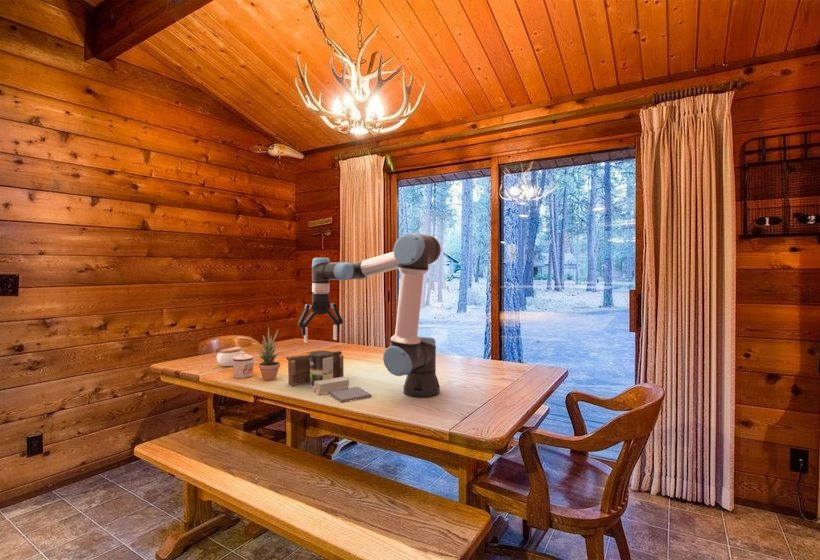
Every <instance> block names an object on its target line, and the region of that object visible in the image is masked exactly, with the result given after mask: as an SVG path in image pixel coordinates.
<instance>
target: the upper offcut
mask: <svg viewBox="0 0 820 560" xmlns="http://www.w3.org/2000/svg"><path fill="white" fill-rule="evenodd" d="M349 381H350V380H349V378H346V377H345V376H344V377H338V378H331V379H325V380H319V381H314V387H315V388H316V389H318V390H319V391H321V390H327V389H332V388H338V387H344V386H348V387H349V386H350V384H349V383H350V382H349Z"/></svg>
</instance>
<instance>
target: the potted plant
mask: <svg viewBox="0 0 820 560" xmlns="http://www.w3.org/2000/svg"><path fill="white" fill-rule="evenodd" d="M269 327H270V326H268V328H267V330H268V331H267V341H266V338H265V335H264V334H263V335H262V337H263V340H261V341H262V347H263V349H261V347H259V348H258V349H259V351H260V352H259V355H258V357H259V358H260V359H261V362H260V363H258V369H259V370H260V375H261V377H262V380H263V381H265V380H270V381H274V380H273V379H275V380H276V379H277V376H278V372H279V368H280V366H281V363H280V362H279V361H275V359H276V357H277V356H278V354H279V353H280V352H277V353H275V352H276V346H277V344H278V341H276V338H277V336H278V333H279V329H277V330H276V333H275V334H274V337H273V335H270V328H269ZM270 336H271V337H270ZM275 341H276V343H275ZM274 343H275V344H274Z"/></svg>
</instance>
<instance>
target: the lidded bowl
mask: <svg viewBox="0 0 820 560" xmlns="http://www.w3.org/2000/svg"><path fill="white" fill-rule="evenodd" d="M241 352H242V347H241V346H237V345H231V344H227V346H221V347H217V348H216V349H215V355H216V360H217V363H218V364H220V366H221V367H223V366H231V367H233V358H234V357H236V356H238V355H239V354H241Z"/></svg>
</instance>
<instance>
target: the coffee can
mask: <svg viewBox="0 0 820 560" xmlns="http://www.w3.org/2000/svg"><path fill="white" fill-rule="evenodd" d="M308 354H309V355H310V382H309V386H310V387H311V388H313V387H314V381H319V380H325V379H331V378H333V352H331V351H329V350H317V351H312V352H309V353H308Z"/></svg>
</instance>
